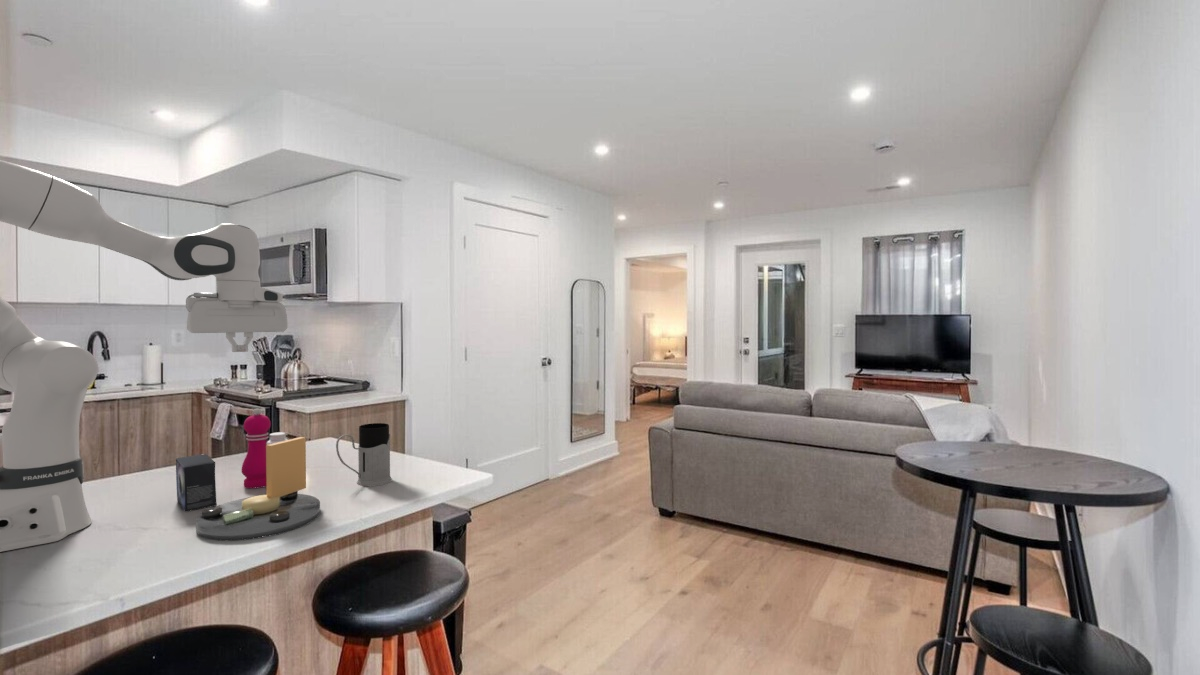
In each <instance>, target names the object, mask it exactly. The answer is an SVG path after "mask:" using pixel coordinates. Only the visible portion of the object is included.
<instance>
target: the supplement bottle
mask: <svg viewBox="0 0 1200 675" xmlns="http://www.w3.org/2000/svg"><path fill="white" fill-rule="evenodd" d="M286 440H289V439H287V436H286V432H284V431H283V432H282V431H281V432H280V431H278V432H277V431H276V432H272V433H269V440H267V445H269V444H273V443H277V442H282V441H286Z"/></svg>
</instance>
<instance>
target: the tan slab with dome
mask: <svg viewBox="0 0 1200 675" xmlns="http://www.w3.org/2000/svg"><path fill="white" fill-rule="evenodd" d="M306 445H307V444H306V437H303V436H300V437H295V438H290V439H288V440H286V441H282V442H277V443H273V444H269V445H266V478H267V486H266V494H260V495H254V496H250V498H248V497H246V498H247V499H245V500H243V501H242V510H245V509H249V508H252V510H253V515H255V514H263V513H268V512H271V511H274V510H276V509H278V508H279V507H280V502H279V497H281V496H284V495H287V494H290V493H293V492H296V491H302V490H304V489H307V454H306V453H307V450H306Z"/></svg>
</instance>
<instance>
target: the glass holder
mask: <svg viewBox="0 0 1200 675" xmlns="http://www.w3.org/2000/svg"><path fill="white" fill-rule="evenodd" d="M344 437H349V438H350V439H351V442H352V448H353V450H358V451H357V453H358V457H357V458H358V460H357V461H358V471H357V470H356V469H354V468H353V467H350V466H349V465H348V464H347V463H346V462H345V461H344V460H343V458H342V456H341V454H340V451H339V441H340V440H341V439H342V438H344ZM390 439H391V435H390V424H389V423H383V422H382V423H380V422H379V423H378V422H377V423H374V422H373V423H366V424H361V425H359V426H358V446H357V447H355V439H354V437H353V436H352V435H350V434H343V435H340V436H339V437H338V438H337V439H336V443H335V448H336V454H337V457H338V460H340V462H341V464H343V465H344V466H345V467H346V468H348V469H349V470H351V471H353V472H355V473H356V474H357V475H358V476H357V477H358V479H357V481H356V484H357V485H358V486H362V487H377V486H376V485H378V486H383V485H386V484H389V483H391V482H392V481H393V478H392V477H391V450H390V449H391V440H390ZM391 480H392V481H391ZM390 481H391V482H390ZM388 482H389V483H388ZM385 483H386V484H385ZM382 484H383V485H382Z"/></svg>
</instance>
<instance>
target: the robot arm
mask: <svg viewBox="0 0 1200 675" xmlns="http://www.w3.org/2000/svg"><path fill="white" fill-rule="evenodd" d="M0 222H2V223H6V224H9V225H12V226H15V227H19V228H22V229H23V230H27V231H31V232H34V233H36V234H37V233H38V234H41V235H45V236H49V237H53V238H58V239H62V240H66V241H67V240H68V241H73V242H79V243H85V244H90V245H95V246H100V248H101V247H102V248H104V249H108V250H111V251H112V252H113V251H114V252H117V253H119V254H122V255H125V256H128V257H131V258H134V259H137V260H139V261H142V262H144V263H146V264H147V265H149V266H151V267H152V268H153V269H154V270H155V271H157V272H158V273H160V274H161V275H163V276H164V277H166V278H168V279H170V280H175V281H189V280H192V279H198V278H199V279H200V278H206V277H210V276H214V277H215V282H216V283H215V284H216V286H215V288H216V292H193V294H192V293H191V294H190V295H187V297H186V299H185V309H186V310H187V320H186V330H187V331H188V332H189V333H191V334H219V333H224V334H225V338H226V339H227V340H228V342H229V343H230V345H231V352H232V353H241V352H242V353H245V352H248V351H249V344H250V342H252V339H253V338H254V333H280V332H281V333H284V332H285V331H287V329H288V326H289V325H288V324H289V323H288V315H287V310H286V307H285V305H284V304H283V303H282V301H283V299H284V298H283V294H282V293H281V292H278V291H275V290H272V289H268V288H266V287H265V288H264V287H262V286H261V278H260V275H259V269H260V265H261V256H260V255H261V254H260V245H259V239H258V236H257V233H256V231H254V230H253V229H251V228H249V227H248V226H245V225H242V224H237V223H230V222H228V223H227V222H222V223H220V224H219V225H217V226H215V227H213V228H210V229H207V230H204V231H200V232H196V233H191V234H185V235H182V236H174V237H172V236H169V237H168V236H167V237H166V236H159V235H155V234H153V233H149V232H147V231H144V230H142V229H139V228H137V227H134V226H132V225H129V224H126V223H124V222H121V221H119V220H117V219H115V218H114V217H112V216H111V215H109V214H108V213H107V212H106V211H105V210H104V209H103V206H102V204H101V203H100V201H99V200H98V199H97V197H96V196H95V195H94V194H91V193H90V192H88V191H86V190H85V189H83V188H81V187H79V186H77V185H75V184H73V183H71V182H69V181H66V180H64V179H61V178H58V177H56V176H54V175H50V174H48V173H45V172H42V171H39V170H37V169H33V168H30V167H27V166H24V165H20V164H17V163H14V162H9V161H6V160H2V159H0ZM237 333H243V337H244V338H245V339H244V340H243V343H238V344H237V342H236V340H235V339H234V338H236V334H237ZM98 374H99V364H98V361H97V359H96V357H95V356H94V355H93V353H92V352H90V351H89V350H87V349H85V348H83V347H82V346H79V345H77V344H74V343H72V342H68V341H63V340H59V341H58V340H47V339H45V338H43V337H41V336H39V335H37V334H36V333H34V332H33V331H32V330H31V328H29V326H27V324H26V323H25V322H24V321H23V320H22V319H21V317H20V316H19V315H18V313H17V310H16V309H15V307H14V306H13V305H12V304H10V303H9V302H8V301H6V300H5V299H4V298H2V296H0V389H2V390H4V391H6V392H7V391H8V392H12V393H14V396H13V400H12V406H11V410H10V412H9V414H8V415H9V416H8V418H7V420H6V421H5V422H4V423H3V425H2V427H1V438H2V439H1V440H2V442H1V443H2V446H1V447H2V466H1V467H0V553H2V552H6V551H11V550H17V549H18V550H19V549H23V548H28V547H29V548H30V547H32V546H39V545H44V544H49V543H55V542H58V541H61V540H62V539H65V538H66V537H67V536H69V535H71V534H73V533H77V532H79V531H81V530H82V529H84V528H87V527H88V526H90V525H91V524H92V522H93V520H92V518H91V516H90V514H89V511H88V508H87V504H86V501H85V496H84V492H83V483H84V477H85V474H84V471H85V469H84V461H83V458H82V457H81V456H80V421H81V420H80V418H81V414H82V410H83V406H84V402H85V398H86V395H87V391H88V389H89V387H90V386H91V385H92V384H93V383H94V382H95V380H96V379H97V376H98Z"/></svg>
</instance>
